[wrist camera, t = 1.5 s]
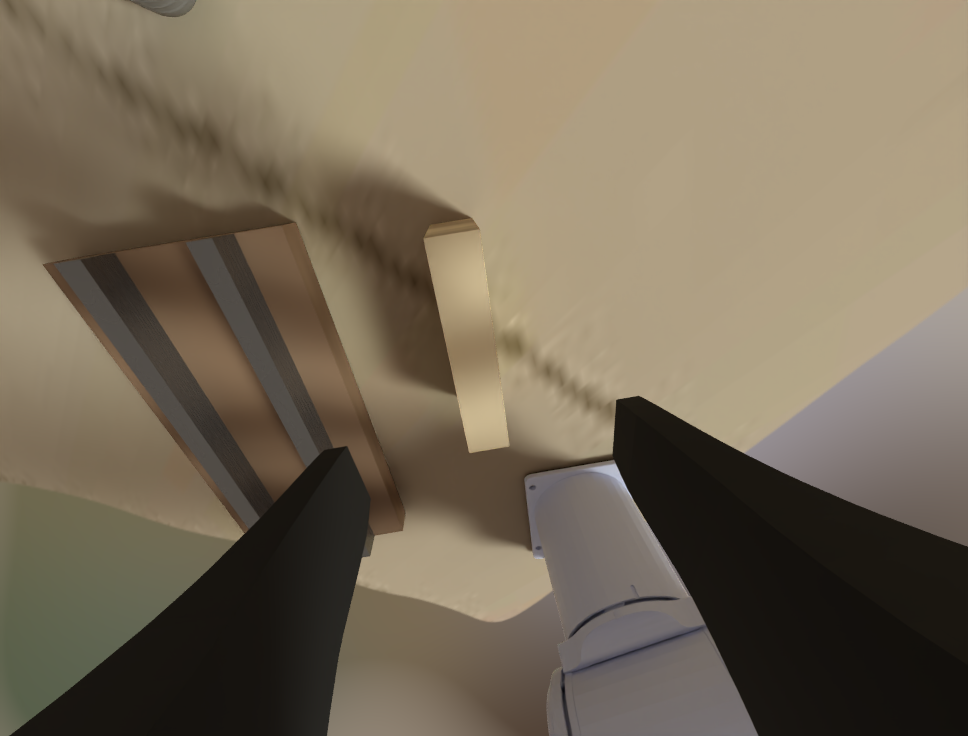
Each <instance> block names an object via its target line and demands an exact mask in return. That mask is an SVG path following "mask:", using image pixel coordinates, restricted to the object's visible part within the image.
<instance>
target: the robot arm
mask: <svg viewBox="0 0 968 736" xmlns="http://www.w3.org/2000/svg"><path fill="white" fill-rule="evenodd" d="M613 459H614V460H611V461H605V462H599V463H593V464H587V465H581V466H575V467H570V468H564V469H558V470H552V471H546V472H540V473H534V474H529V475H527V476H526V477H525V479H524V482H525V491H526V500H527V508H528V517H529V525H530V534H531V543H532V551H533V556H534V558H536V559H541V558H545V561H546V565H547V568H548V572H549V576H550V580H551V584H552V588H553V592H554V595H555V600H556V604H557V608H558V612H559V615H560V620H561V623H562V627H563V631H564V635H565V639H566V641H564V642H562V643H559V644H558V650H559V654H560V658H561V663H562V667H560V668H557V669H555V670H554V672H553V674H552V677H551V682H550V687H549V690H548V695H547V719H548V727H549V735H550V736H968V547H967V546H964V545H961V544H958V543H956V542H953V541H950V540H947V539H944V538H941V537H938V536H936V535H933V534H931V533H928V532H925V531H923V530H920V529H918V528H915V527H912V526H909V525H907V524H904V523H901V522H899V521H896V520H894V519H891V518H888V517H886V516H883V515H880V514H878V513H875V512H873V511H870V510H868V509H865V508H863V507H860V506H858V505H855V504H853V503H851V502H848V501H846V500H843V499H841V498H839V497H837V496H834V495H832V494H830V493H827V492H825V491H823V490H820V489H818V488H816V487H813V486H811V485H809V484H807V483H804V482H802V481H800V480H798V479H795V478H793V477H791V476H789V475H787V474H784V473H782V472H780V471H778V470H776V469H774V468H772V467H770V466H768V465H766V464H764V463H762V462H760V461H758V460H756V459H754V458H752V457H750V456H748V455H746V454H744V453H742V452H740V451H738V450H736V449H734V448H732V447H731V446H729V445H727V444H725V443H723V442H721V441H719V440H717V439H716V438H714V437H712V436H710V435H708V434H706V433H705V432H703V431H701V430H699V429H697V428H696V427H694V426H692V425H690V424H689V423H687V422H685V421H683V420H682V419H680V418H678V417H676V416H675V415H673V414H671V413H669V412H668V411H666V410H664V409H662V408H660V407H659V406H657V405H655V404H653V403H652V402H650V401H648V400H646V399H644V398H642V397H640V396H636V397H630V398H624V399H618V400H616V413H615V428H614V442H613ZM532 485H534V486H532ZM633 500H634V501H635V503H636V505H637V506H638V508H639V510H640V511H641V513H642V515H643V516H644V518H645V520H646V521H647V523H648V524H649V526H650V528H651V529H652V531H653V533H654V534H655V536H656V537H657V539H658V541H659V542H660V544H661V546H662V547H663V549H664V550H665V552H666V554H667V555H668V557H669V559H670V560H671V562H672V564H673V565H674V566H675V568H676V570H677V572H678V573H679V575H680V577H681V579H682V580H683V582H684V584H685V586H686V587H687V589H688V591H689V593H690V595H691V596H690V597H689V596H688V594H687V593H686V591H685V589H684V588H683V586H682V584H681V582H680V581H679V579H678V577H677V576H676V574H675V572H674V570H673V569H672V567H671V565H670V564H669V562H668V560H667V559H666V557H665V555H664V553H663V552H662V550H661V548H660V546H659V545H658V543H657V541H656V540H655V538H654V536H653V534H652V533H651V531H650V529H649V528H648V526H647V524H646V522H645V521H644V519H643V517H642V515H641V514H640V512H639V510H638V509H637V507H636V505H635V503H634V502H633ZM370 502H371V498H370V495H369V493H368V491H367V489H366V487H365V484H364V482H363V480H362V478H361V476H360V473H359V471H358V469H357V467H356V464H355V462H354V460H353V458H352V456H351V453H350V451H349V449H348V447H347V446H344V447H338V448H332V449H326V450H324V451H323V452H322V453H321V454H320V455H318V456H317V458H316V459H315V460H314V461H313V462H312V463H311V464H310V465H309V466H308V467H307V468H306V469H305V470H304V471H303V472H302V473H301V475H300V476H299V477H298V478H297V479H296V480H295V481H294V482H293V483H292V484H291V485H290V487H289V488H288V489H287V490H286V491H285V492H284V493H283V494H282V495H281V496H280V497H279V498H278V499H277V501H276V502H275V503H274V504H273V505H272V506H271V507H270V508H269V509H268V510H267V511H266V512H265V513H264V514H263V515H262V517H261V518H260V519H259V520H258V521H257V522H256V523H255V524H254V525H253V526H252V527H251V528H250V529H249V530H248V531H247V532H246V533H245V534H244V535H243V536H242V537H241V538H240V539H239V540H238V541H237V542H236V543H235V544H234V545H233V546H232V547H231V548H230V549H229V550H228V551H227V552H226V553H225V554H224V555H223V556H222V557H221V558H220V559H219V560H218V561H217V562H216V563H215V564H214V565H213V566H212V567H211V568H210V569H209V570H208V571H207V572H206V573H204V574H203V576H201V577H200V578H199V579H198V580H197V581H196V582H195V583H194V584H193V585H192V586H190V588H188V589H187V590H186V591H185V592H184V593H183V594H182V595H181V596H179V597H178V598H177V599H176V600H175V601H174V602H173V603H172V604H170V605H169V606H168V607H167V608H166V609H165V610H164V611H163V612H161V613H160V614H159V615H158V616H157V617H156V618H155V619H154V620H152V621H151V622H150V623H149V624H148V625H147V626H146V627H144V628H143V629H142V630H141V631H140V632H138V634H136V635H135V636H134V637H132V638H131V639H130V640H129V641H127V642H126V643H125V644H124V645H123V646H121V647H120V648H119V649H118V650H117V651H115V652H114V653H113V654H112V655H111V656H109V657H108V658H107V659H106V660H104V661H103V662H102V663H101V664H99V665H98V666H97V667H96V668H95V669H93V670H92V671H91V672H90V673H89V674H87V675H86V676H85V677H84V678H83V679H81V680H80V681H79V682H78V683H76V684H75V685H74V686H73V687H71V688H70V689H69V690H68V691H67V692H65V693H64V694H63V695H62V696H60V697H59V698H58V699H56V700H55V701H54V702H53V703H51V704H50V705H49V706H47V707H46V708H45V709H44V710H42V711H41V712H40V713H38V714H37V715H36V716H34V717H33V718H32V719H31V720H29V721H28V722H27V723H26V724H24V725H23V726H21V727H20V728H19V729H18V730H16V731H15V732H14V733H12V734H11V735H10V736H327V730H328V723H329V715H330V709H331V702H332V696H333V689H334V683H335V675H336V669H337V663H338V657H339V652H340V647H341V643H342V637H343V633H344V629H345V625H346V621H347V616H348V612H349V608H350V604H351V600H352V596H353V592H354V588H355V584H356V580H357V576H358V571H359V567H360V563H361V559H362V554H363V550H364V546H365V541H366V537H367V529H368V521H369V512H370Z"/></svg>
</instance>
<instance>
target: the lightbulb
mask: <svg viewBox="0 0 968 736" xmlns="http://www.w3.org/2000/svg"><path fill="white" fill-rule="evenodd" d="M130 1H132V2H134V3H136V4H139V5H140V6H142V7H144V8H146V9H148V10H151V11H153V12H155V13H158V14H160V15H163V16H168V17H179V16H181V15H184V14H186V13H187V12H189V11H190V10H191V9H192V7H193V6H194V4H195V2H196V0H130Z"/></svg>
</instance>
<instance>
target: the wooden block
mask: <svg viewBox="0 0 968 736" xmlns="http://www.w3.org/2000/svg"><path fill="white" fill-rule="evenodd" d="M423 239H424V244H425V249H426V253H427V258H428V263H429V267H430V272H431V277H432V281H433V286H434V291H435V295H436V300H437V305H438V309H439V314H440V319H441V323H442V328H443V333H444V337H445V342H446V347H447V351H448V356H449V361H450V365H451V370H452V375H453V380H454V384H455V389H456V394H457V398H458V403H459V408H460V412H461V417H462V422H463V426H464V431H465V436H466V440H467V445H468V450H469V453H473V452H479V451H485V450H491V449H497V448H503V447H509V438H508V431H507V424H506V416H505V409H504V402H503V394H502V387H501V380H500V372H499V365H498V358H497V350H496V343H495V336H494V328H493V321H492V314H491V306H490V299H489V292H488V285H487V277H486V270H485V263H484V255H483V248H482V241H481V233H480V229H479V227H478V226H477V224H476V223H475V222H474V220H473V219H472V218H469V219H463V220H456V221H450V222H444V223H438V224H432V225H430V226H429V228H428V230H427V232H426V234H425V236H424V238H423Z"/></svg>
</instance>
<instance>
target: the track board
mask: <svg viewBox="0 0 968 736" xmlns="http://www.w3.org/2000/svg"><path fill="white" fill-rule="evenodd" d="M43 266H44V267H45V268H46V270H47V271H48V272H49V274H50V275H51V276H52V278H53V279H54V280H55V282H56V283H57V284H58V286H59V287H60V288H61V290H62V291H63V292H64V294H65V295H66V296H67V298H68V299H69V300H70V302H71V303H72V304H73V306H74V307H75V308H76V310H77V311H78V312H79V314H80V315H81V316H82V318H83V319H84V320H85V322H86V323H87V324H88V326H89V327H90V328H91V330H92V331H93V332H94V334H95V335H96V336H97V338H98V339H99V340H100V342H101V343H102V344H103V345H104V347H105V348H106V349H107V351H108V352H109V353H110V355H111V356H112V357H113V359H114V360H115V361H116V363H117V364H118V365H119V367H120V368H121V369H122V371H123V372H124V373H125V375H126V376H127V377H128V379H129V380H130V381H131V383H132V384H133V385H134V387H135V388H136V389H137V391H138V392H139V393H140V395H141V396H142V397H143V399H144V400H145V401H146V403H147V404H148V405H149V407H150V408H151V409H152V411H153V412H154V413H155V415H156V416H157V417H158V419H159V420H160V421H161V423H162V424H163V425H164V427H165V428H166V429H167V431H168V432H169V433H170V435H171V436H172V437H173V439H174V440H175V441H176V443H177V444H178V445H179V447H180V448H181V449H182V451H183V452H184V453H185V454H186V456H187V457H188V458H189V460H190V461H191V462H192V464H193V465H194V466H195V468H196V469H197V470H198V472H199V473H200V474H201V476H202V477H203V478H204V480H205V481H206V482H207V484H208V485H209V486H210V488H211V489H212V490H213V492H214V493H215V494H216V496H217V497H218V498H219V500H220V501H221V502H222V504H223V505H224V506H225V508H226V509H227V510H228V512H229V513H230V514H231V516H232V517H233V518H234V520H235V521H236V522H237V524H238V525H239V526H240V528H241V529H242V530H243V532H244V533H246V532H247V531H248V530H249V529H250V528H251V527H252V526H253V525H254V524H255V523H256V522H257V521H258V520H259V519H260V518H261V517H262V515H263V514H264V513H265V512H266V511H267V510H268V509H269V508H270V507H271V506H272V505H273V504H274V503H275V502H276V501H277V499H278V498H279V497H280V496H281V495H282V494H283V493H284V492H285V491H286V490H287V489H288V488H289V487H290V485H291V484H292V483H293V482H294V481H295V480H296V479H297V478H298V477H299V476H300V475H301V473H302V472H303V471H304V470H305V469H306V468H307V467H308V466H309V465H310V464H311V463H312V462H313V461H314V460H315V459H316V458H317V456H318V455H320V454H321V453H322V452H323V451H324V450H326V449H332V448H338V447H344V446H347V447H348V449H349V451H350V453H351V456H352V458H353V460H354V462H355V464H356V467H357V469H358V471H359V473H360V476H361V478H362V480H363V482H364V484H365V487H366V489H367V491H368V493H369V495H370V498H371V502H370V512H369V521H368V529H367V537H366V541H365V546H364V550H363V554H362V557H367V556H370V554H371V550H372V545H373V541H374V536H375V535H380V534H386V533H392V532H398V531H403V526H404V519H405V510H404V508H403V505H402V502H401V500H400V497H399V494H398V492H397V489H396V486H395V484H394V481H393V479H392V476H391V473H390V471H389V468H388V465H387V463H386V460H385V457H384V455H383V452H382V449H381V447H380V444H379V441H378V439H377V436H376V433H375V431H374V428H373V426H372V423H371V420H370V418H369V415H368V412H367V410H366V407H365V404H364V402H363V399H362V396H361V394H360V391H359V388H358V386H357V383H356V381H355V378H354V375H353V373H352V370H351V367H350V365H349V362H348V359H347V357H346V354H345V351H344V349H343V346H342V343H341V341H340V338H339V335H338V333H337V330H336V328H335V325H334V322H333V320H332V317H331V314H330V312H329V309H328V306H327V304H326V301H325V298H324V296H323V293H322V290H321V288H320V285H319V282H318V280H317V277H316V275H315V272H314V269H313V267H312V264H311V261H310V259H309V256H308V253H307V251H306V248H305V245H304V243H303V240H302V237H301V235H300V232H299V229H298V227H297V224H296V222H295V223H289V224H283V225H277V226H271V227H264V228H258V229H252V230H246V231H239V232H233V233H227V234H221V235H215V236H208V237H202V238H196V239H190V240H184V241H177V242H171V243H165V244H159V245H153V246H146V247H140V248H134V249H128V250H121V251H115V252H109V253H103V254H97V255H90V256H84V257H78V258H73V259H67V260H62V261H57V262H52V263H46V264H43Z"/></svg>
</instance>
